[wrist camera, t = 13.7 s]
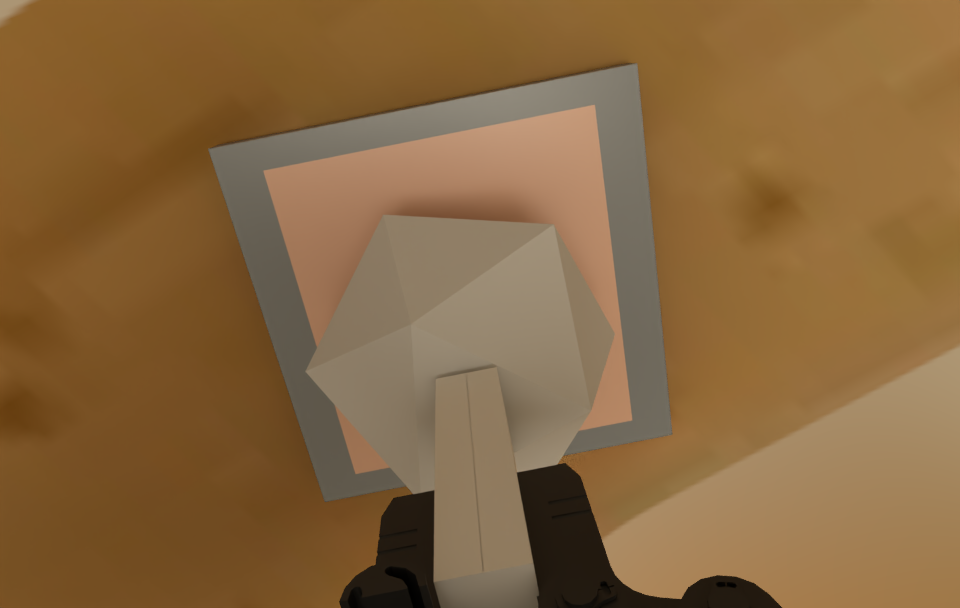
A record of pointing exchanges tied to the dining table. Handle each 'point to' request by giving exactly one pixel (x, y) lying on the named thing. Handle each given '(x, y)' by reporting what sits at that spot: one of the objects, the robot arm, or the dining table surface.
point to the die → (463, 337)
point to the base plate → (458, 195)
